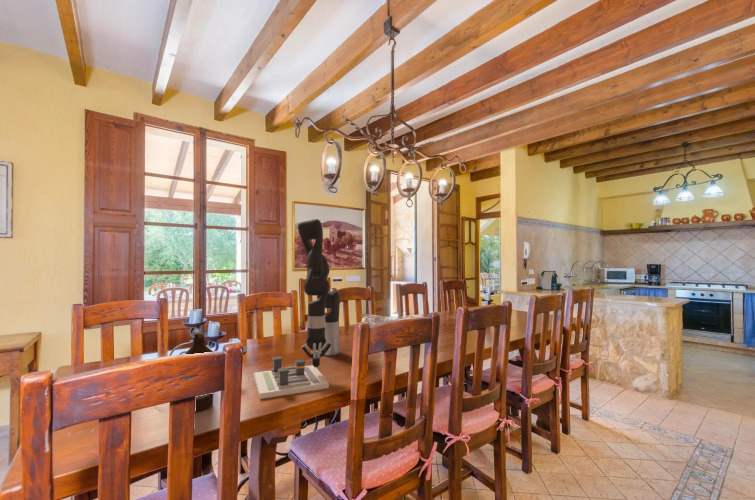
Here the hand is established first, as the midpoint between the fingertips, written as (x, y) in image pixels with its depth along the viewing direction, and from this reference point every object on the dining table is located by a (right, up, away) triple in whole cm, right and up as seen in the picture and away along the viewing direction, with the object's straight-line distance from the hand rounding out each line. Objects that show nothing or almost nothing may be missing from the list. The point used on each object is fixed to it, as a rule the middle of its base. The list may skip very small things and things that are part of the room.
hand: (315, 366), depth 143 cm
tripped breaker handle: (-6, -2, -3) cm, 7 cm away
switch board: (-10, -5, -5) cm, 12 cm away
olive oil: (-36, -4, -27) cm, 45 cm away
